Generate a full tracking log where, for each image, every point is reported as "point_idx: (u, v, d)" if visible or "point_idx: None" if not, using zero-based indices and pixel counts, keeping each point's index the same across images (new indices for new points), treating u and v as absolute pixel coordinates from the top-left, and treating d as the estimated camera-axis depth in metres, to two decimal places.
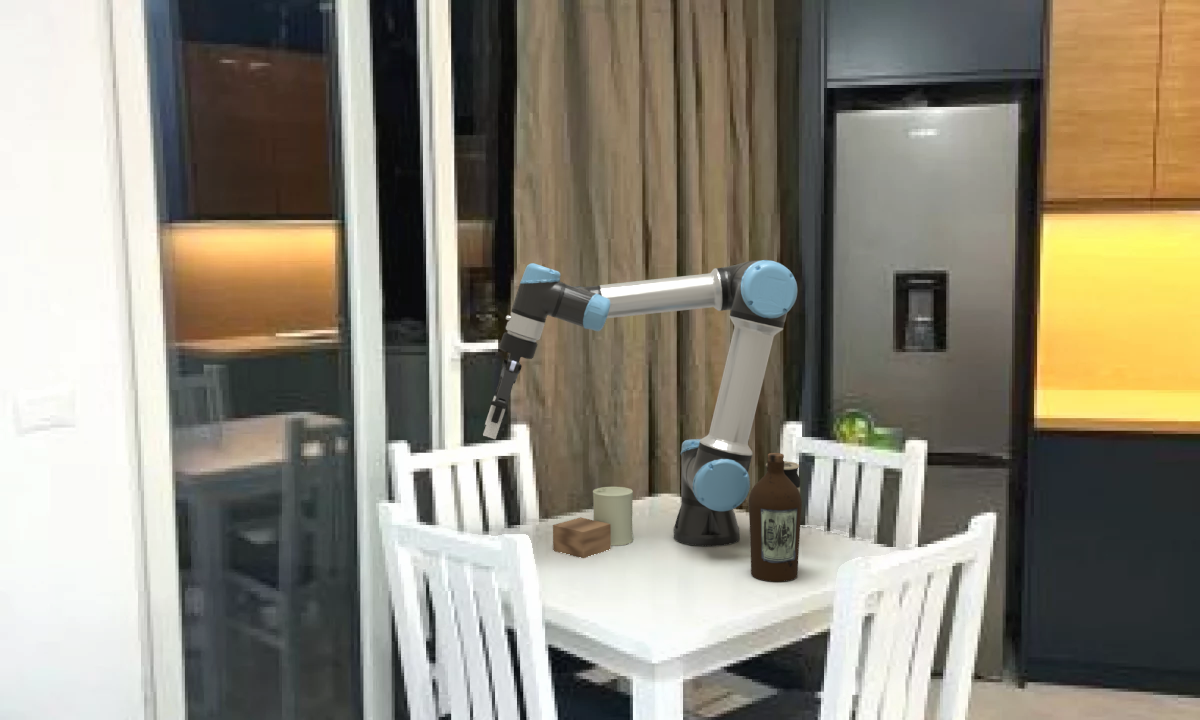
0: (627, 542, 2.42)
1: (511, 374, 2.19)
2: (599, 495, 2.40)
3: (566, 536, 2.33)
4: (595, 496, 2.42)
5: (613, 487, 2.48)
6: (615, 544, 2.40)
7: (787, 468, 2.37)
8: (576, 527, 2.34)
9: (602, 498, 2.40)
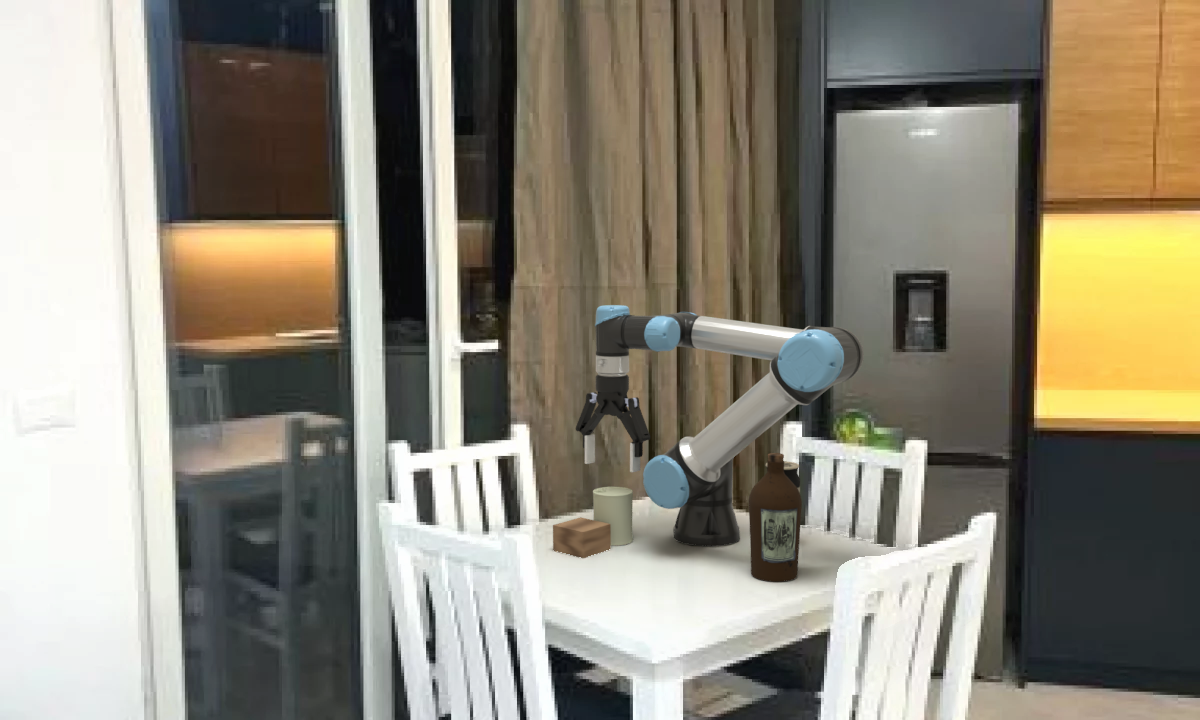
0: (627, 542, 2.42)
1: (637, 410, 2.37)
2: (599, 495, 2.40)
3: (566, 536, 2.33)
4: (595, 496, 2.42)
5: (613, 487, 2.48)
6: (615, 544, 2.40)
7: (787, 468, 2.37)
8: (576, 527, 2.34)
9: (602, 498, 2.40)
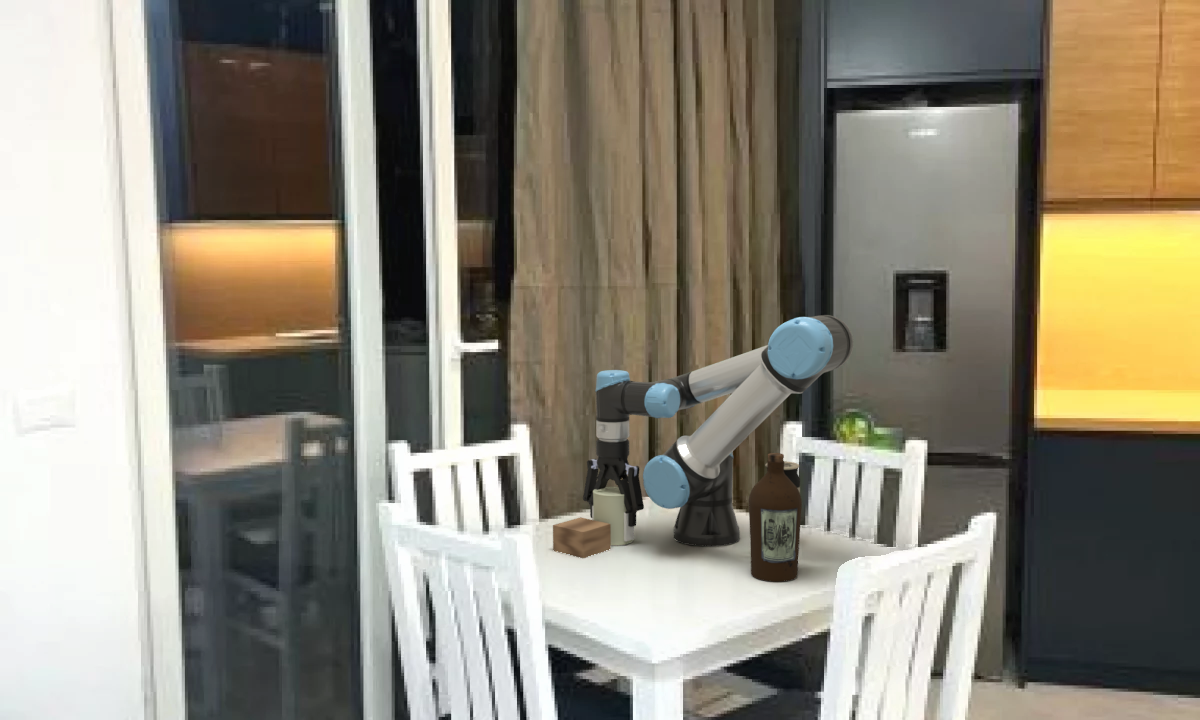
0: (627, 542, 2.42)
1: (636, 479, 2.39)
2: (599, 495, 2.40)
3: (566, 536, 2.33)
4: (595, 496, 2.42)
5: (613, 487, 2.48)
6: (615, 544, 2.40)
7: (787, 468, 2.37)
8: (576, 527, 2.34)
9: (602, 498, 2.40)
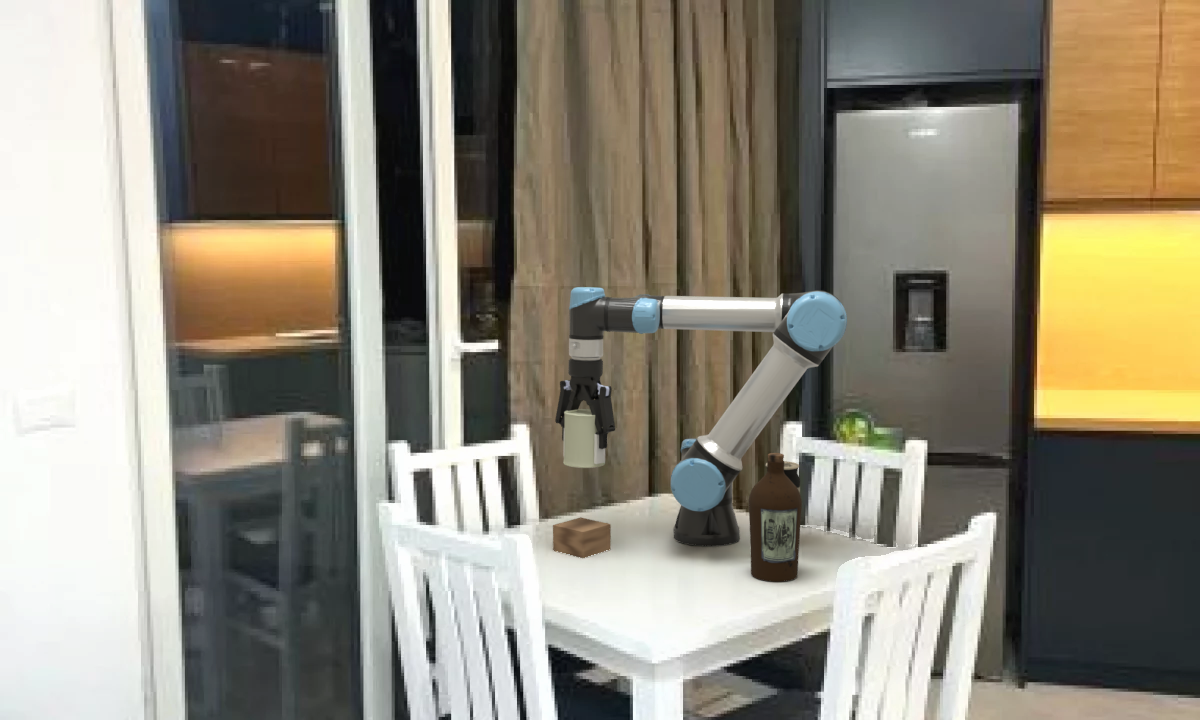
0: (597, 465, 2.33)
1: (608, 399, 2.31)
2: (570, 415, 2.32)
3: (566, 536, 2.33)
4: (566, 416, 2.34)
5: (586, 409, 2.39)
6: (585, 466, 2.32)
7: (787, 468, 2.37)
8: (576, 527, 2.34)
9: (572, 418, 2.32)
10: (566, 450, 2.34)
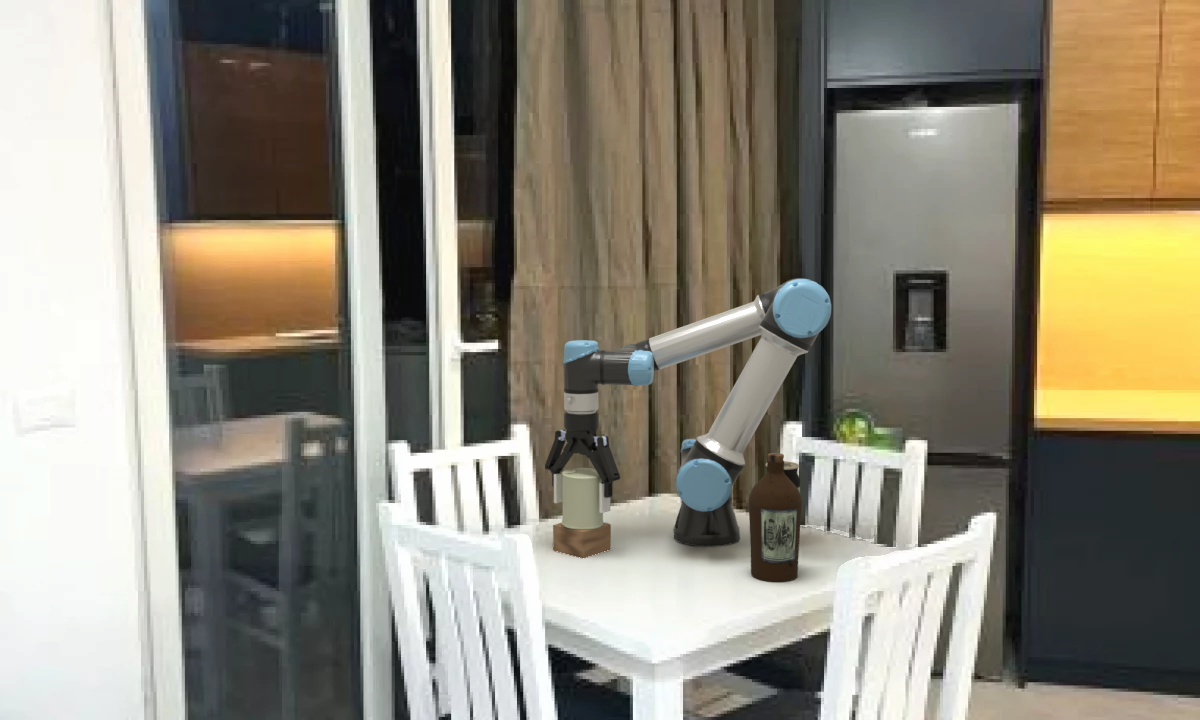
0: (597, 526, 2.33)
1: (607, 449, 2.30)
2: (568, 477, 2.31)
3: (566, 536, 2.33)
4: (564, 478, 2.33)
5: (583, 468, 2.38)
6: (584, 528, 2.32)
7: (787, 468, 2.37)
8: None
9: (571, 480, 2.31)
10: (565, 512, 2.33)
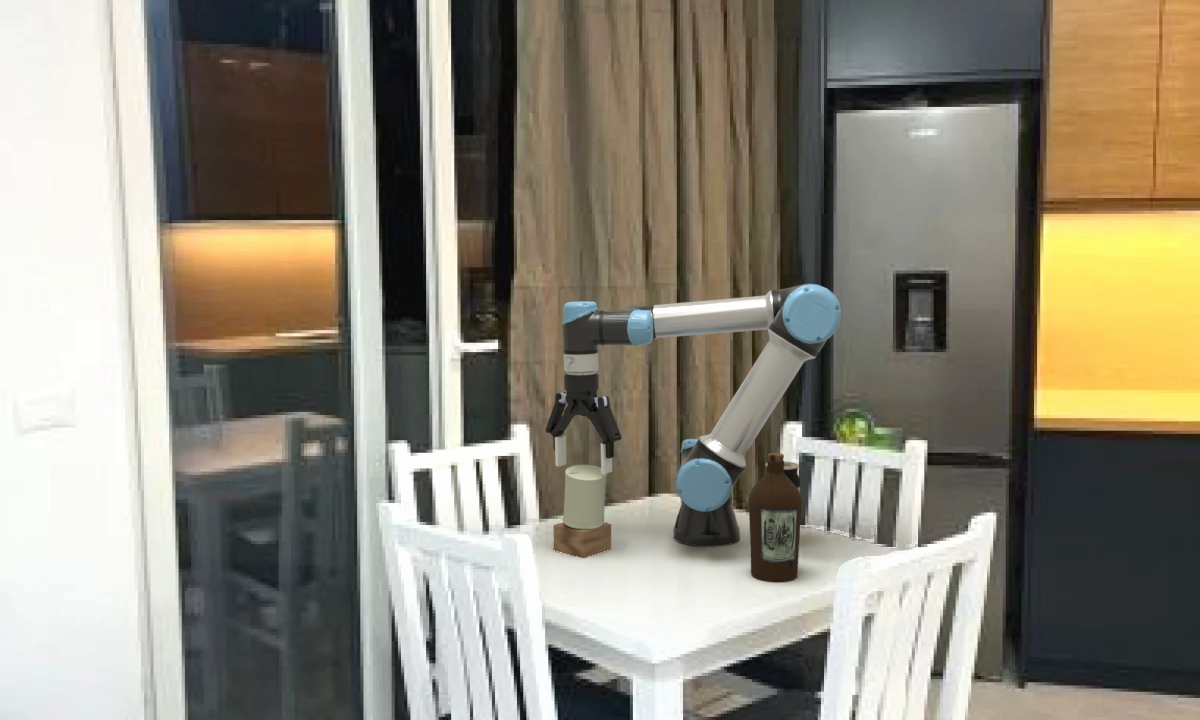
0: (599, 525, 2.33)
1: (607, 409, 2.29)
2: (572, 478, 2.30)
3: (567, 536, 2.33)
4: (568, 478, 2.31)
5: (585, 465, 2.37)
6: (587, 528, 2.32)
7: (787, 468, 2.37)
8: None
9: (575, 481, 2.30)
10: (567, 510, 2.33)
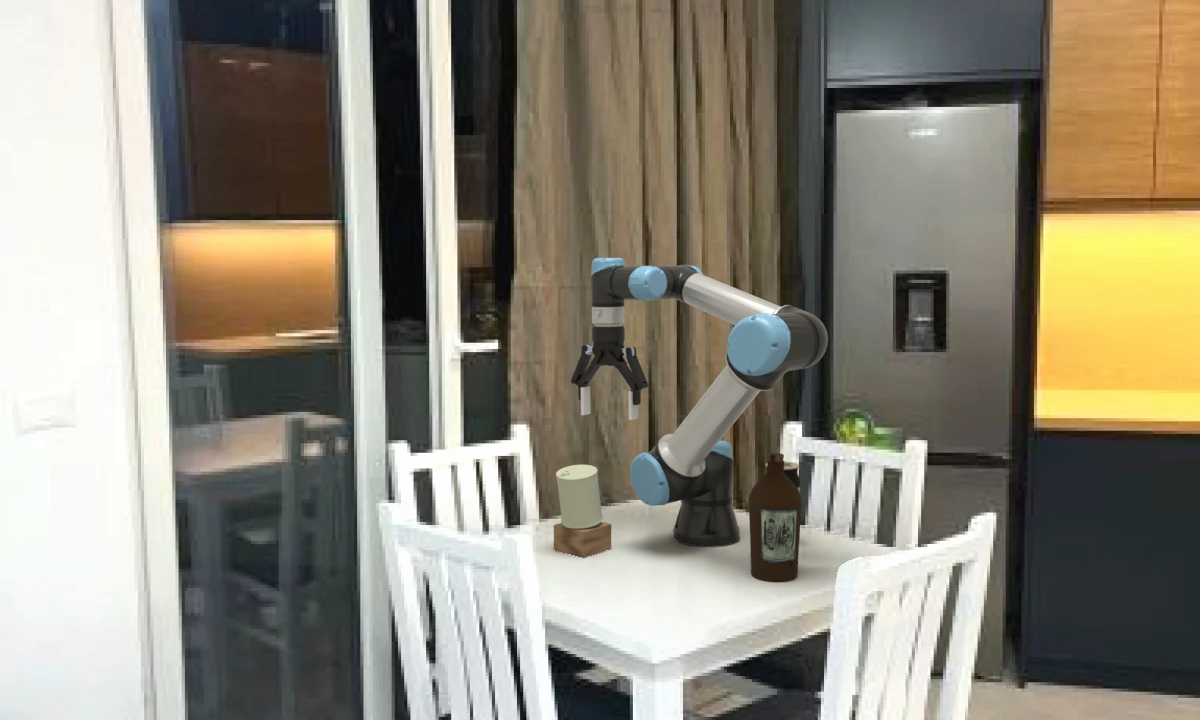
0: (599, 521, 2.34)
1: (635, 358, 2.43)
2: (566, 480, 2.30)
3: (567, 536, 2.34)
4: (561, 481, 2.31)
5: (573, 466, 2.38)
6: (588, 526, 2.32)
7: (787, 468, 2.37)
8: None
9: (569, 482, 2.30)
10: (566, 513, 2.33)
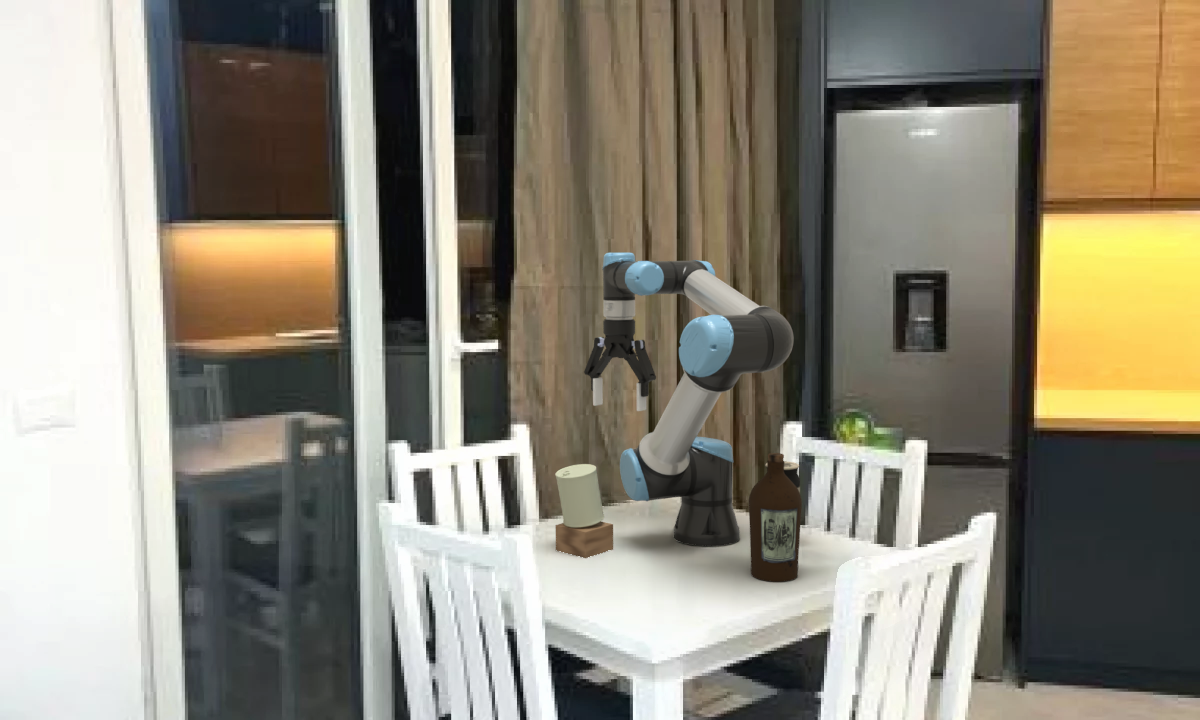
0: (603, 517, 2.36)
1: (643, 351, 2.48)
2: (571, 478, 2.31)
3: (569, 536, 2.34)
4: (565, 480, 2.31)
5: (568, 467, 2.38)
6: (595, 522, 2.33)
7: (787, 468, 2.37)
8: (579, 528, 2.34)
9: (574, 480, 2.31)
10: (571, 513, 2.33)
